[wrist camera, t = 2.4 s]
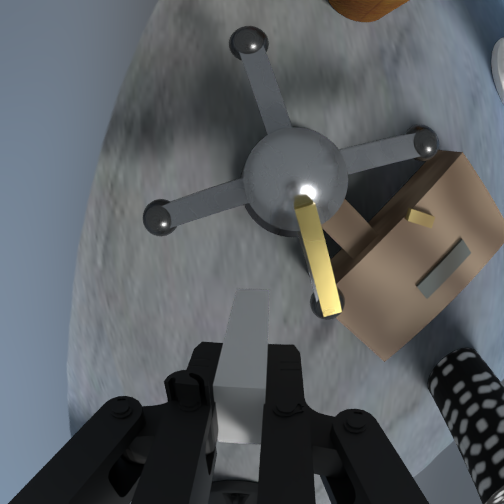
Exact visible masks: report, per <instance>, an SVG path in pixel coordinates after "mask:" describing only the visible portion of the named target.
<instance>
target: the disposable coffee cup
mask: <svg viewBox="0 0 504 504" xmlns="http://www.w3.org/2000/svg"><path fill="white" fill-rule="evenodd" d="M328 1H329V3H330V4H331V6H332V7H333V8H334V9H335V10H336V11H337V12H338V13H340V14H341V15H343V16H345V17H346V18H349V19H351V20H354V21H359V22H372V21H376V20H378V19H380V18H381V17H383V16H384V15H386V14H388V13H389V12H391V11H393V10H394V9H396V8H398V7H399V6H401V5H402V4H404V3H406V2H407V1H409V0H328Z"/></svg>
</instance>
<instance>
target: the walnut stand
mask: <svg viewBox="0 0 504 504" xmlns="http://www.w3.org/2000/svg"><path fill="white" fill-rule="evenodd" d="M321 227H322V228H323V229H324V230H325V231H326V232H327V233H328V234H329V235H330V236H331V237H332V238H333V239H334V240H335V241H336V242H337V243H338V244H339V245H340V246H341V247H342V249H341V250H340V251H339V252H338V253H337V254H336V255H335V256H334V257H333V258H332V259H331V260H330V262H331V266H332V270H333V274H334V279H335V283H336V287H338V288H339V289H340V290H341V291H342V293H343V295H344V297H345V306H344V309H343V311H342V312H341V314H340V315H339V316H337V317H336V318H337V319H338V320H339V321H340V322H341V323H342V324H343V325H344V326H346V327H347V328H348V329H349V330H350V331H351V332H352V333H353V334H354V335H356V336H357V337H358V338H359V339H360V340H361V341H362V342H363V343H364V344H365V345H367V346H368V347H369V348H370V349H371V350H372V351H373V352H374V353H375V354H377V355H378V356H379V357H380V358H381V359H382V360H383V361H384V362H385V361H386V360H387V359H389V358H390V357H391V356H392V355H393V354H395V353H396V352H397V351H398V350H399V349H401V348H402V347H403V346H404V345H405V344H406V343H407V342H409V341H410V340H411V339H412V338H413V337H414V336H415V335H416V334H418V333H419V332H420V331H421V330H422V329H423V328H424V327H425V326H426V325H427V324H428V323H430V322H431V321H432V320H433V319H434V318H435V317H436V316H437V315H438V314H439V313H440V312H441V311H442V310H443V309H444V308H445V307H446V306H447V305H448V304H449V303H450V302H451V301H452V300H453V299H454V298H455V297H456V296H457V295H458V294H459V293H460V292H461V291H462V290H463V289H464V288H465V287H466V286H467V285H468V284H469V282H470V281H471V280H472V279H473V278H474V277H475V276H476V275H477V274H478V273H479V272H480V270H481V269H482V268H483V267H484V266H485V265H486V264H487V262H488V261H489V260H490V259H491V258H492V257H493V255H494V254H495V253H496V252H497V251H498V250H499V248H500V247H501V246H502V245H503V243H504V218H503V217H502V215H501V213H500V211H499V209H498V208H497V206H496V204H495V202H494V201H493V199H492V197H491V195H490V194H489V192H488V190H487V189H486V187H485V185H484V184H483V182H482V181H481V179H480V178H479V176H478V174H477V173H476V171H475V170H474V168H473V167H472V165H471V164H470V162H469V161H468V159H467V158H466V156H465V155H464V154H463V152H454V151H442V150H438V152H437V154H436V155H435V156H434V157H433V158H432V159H430V160H427V161H426V162H425V163H424V164H423V165H422V167H421V168H420V169H419V170H418V171H417V172H416V173H415V174H414V175H413V176H412V177H411V178H410V179H409V181H408V182H407V183H406V184H405V185H404V186H403V187H402V188H401V189H400V190H399V191H398V192H397V193H396V194H395V195H394V196H393V197H392V198H391V200H390V201H389V202H388V203H387V204H386V205H385V206H384V207H383V208H382V209H381V210H380V211H379V212H378V213H377V214H376V215H375V216H374V217H373V218H372V219H371V220H370V221H369V222H368V223H367V222H366V221H365V219H364V218H363V217H362V216H361V215H360V214H359V213H358V212H357V211H356V210H355V209H354V208H353V207H352V206H351V205H350V204H349V203H348V202H347V200H346V199H344V201H343V203H342V205H341V207H340V208H339V210H338V211H337V212H336V213H335V214H334V216H332V217H331V218H330V219H329V220H328V221H326V222H325V223H323V224H322V225H321Z"/></svg>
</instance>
